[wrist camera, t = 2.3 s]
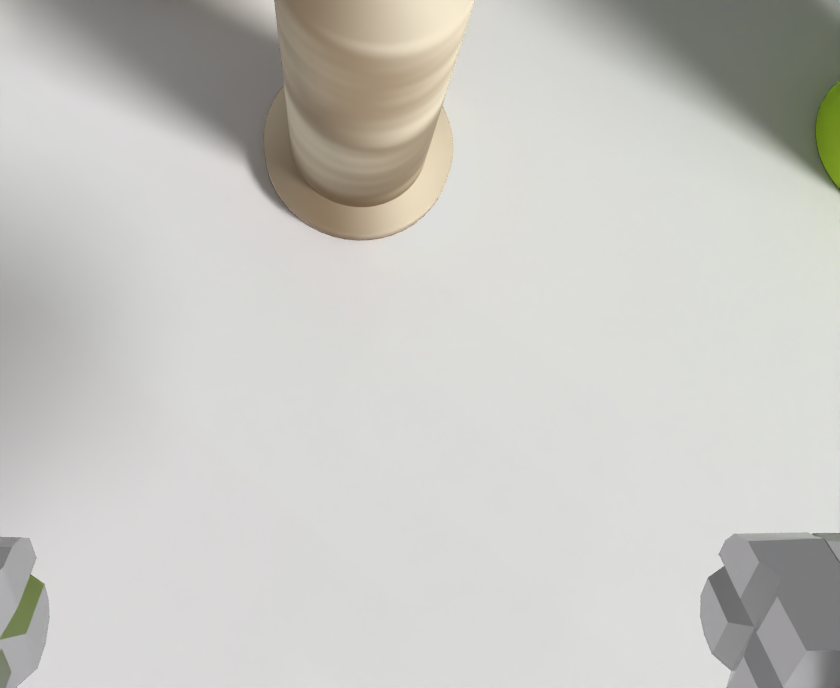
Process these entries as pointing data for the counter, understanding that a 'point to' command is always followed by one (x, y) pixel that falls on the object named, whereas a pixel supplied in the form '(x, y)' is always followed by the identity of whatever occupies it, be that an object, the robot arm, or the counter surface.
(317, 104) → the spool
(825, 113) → the soap dispenser
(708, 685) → the counter surface
